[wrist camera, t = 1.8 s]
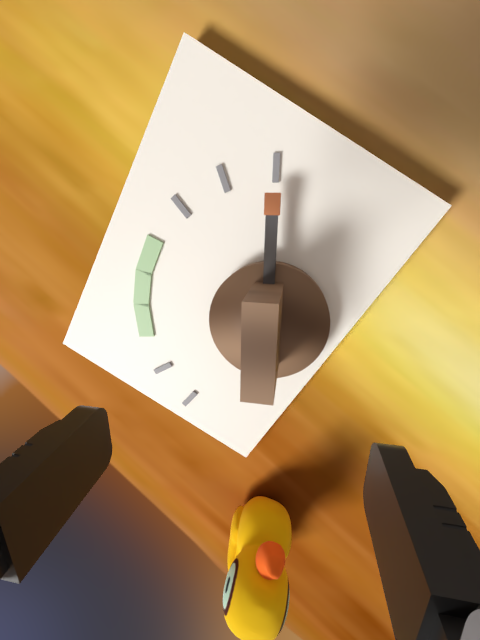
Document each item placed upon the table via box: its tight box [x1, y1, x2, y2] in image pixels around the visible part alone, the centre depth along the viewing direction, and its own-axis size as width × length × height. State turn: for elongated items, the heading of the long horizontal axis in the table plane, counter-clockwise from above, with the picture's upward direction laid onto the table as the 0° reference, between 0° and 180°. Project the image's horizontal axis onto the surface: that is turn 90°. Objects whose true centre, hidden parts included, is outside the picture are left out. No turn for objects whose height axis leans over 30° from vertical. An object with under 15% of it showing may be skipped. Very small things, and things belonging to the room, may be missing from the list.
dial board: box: [63, 32, 452, 457], centre depth 22 cm, size 18×23×2 cm
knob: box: [209, 193, 330, 406], centre depth 18 cm, size 12×8×6 cm, turn 179°
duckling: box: [223, 496, 292, 640], centre depth 24 cm, size 11×5×10 cm, turn 165°
